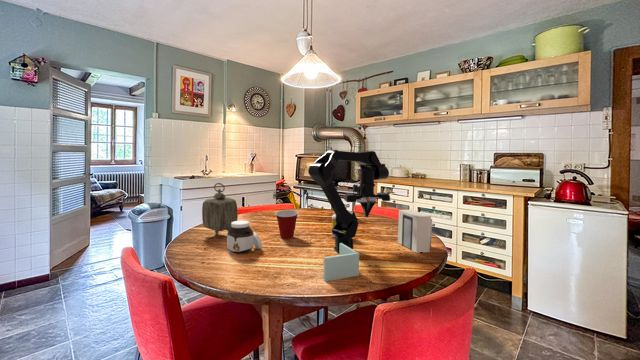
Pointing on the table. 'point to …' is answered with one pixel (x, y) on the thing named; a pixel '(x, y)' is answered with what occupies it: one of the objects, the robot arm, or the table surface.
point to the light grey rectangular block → (408, 232)
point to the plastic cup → (286, 223)
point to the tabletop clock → (219, 212)
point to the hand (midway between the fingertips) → (366, 217)
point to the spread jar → (242, 238)
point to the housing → (415, 230)
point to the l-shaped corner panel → (341, 264)
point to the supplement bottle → (334, 223)
